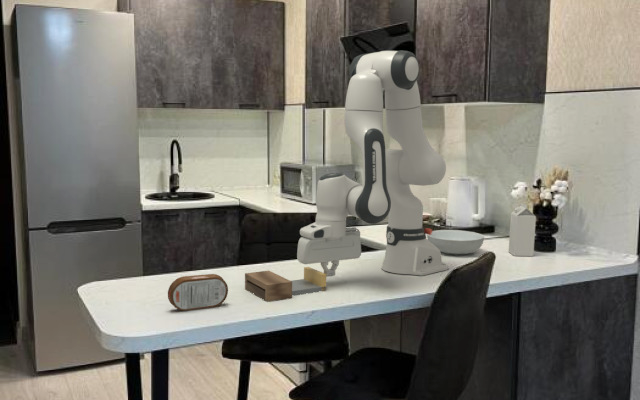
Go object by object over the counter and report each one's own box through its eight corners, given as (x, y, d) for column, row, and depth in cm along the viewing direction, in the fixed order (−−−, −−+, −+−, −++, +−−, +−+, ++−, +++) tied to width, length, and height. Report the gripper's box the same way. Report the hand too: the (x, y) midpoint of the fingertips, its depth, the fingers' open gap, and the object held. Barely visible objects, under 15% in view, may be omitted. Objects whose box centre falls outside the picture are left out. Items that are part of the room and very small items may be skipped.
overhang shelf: (268, 285, 173) (268, 270, 173) (291, 298, 161) (292, 281, 161) (244, 288, 169) (244, 273, 169) (266, 301, 158) (266, 285, 157)
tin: (225, 303, 156) (225, 271, 155) (229, 306, 153) (229, 274, 152) (167, 310, 149) (167, 277, 148) (170, 314, 146) (170, 280, 145)
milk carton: (527, 252, 227) (530, 203, 225) (533, 256, 220) (536, 205, 218) (508, 252, 228) (511, 202, 225) (514, 256, 220) (517, 205, 218)
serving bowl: (415, 248, 231) (416, 231, 230) (460, 245, 239) (461, 228, 238) (447, 260, 212) (448, 241, 211) (495, 256, 220) (496, 237, 219)
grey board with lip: (308, 283, 178) (308, 266, 177) (325, 291, 169) (326, 274, 169) (275, 287, 172) (275, 270, 172) (291, 296, 164) (291, 278, 163)
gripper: (354, 225, 182) (352, 269, 184) (294, 229, 171) (294, 277, 173) (366, 228, 177) (364, 274, 178) (305, 233, 166) (304, 282, 168)
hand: (329, 275), depth 176 cm, fingers closed
